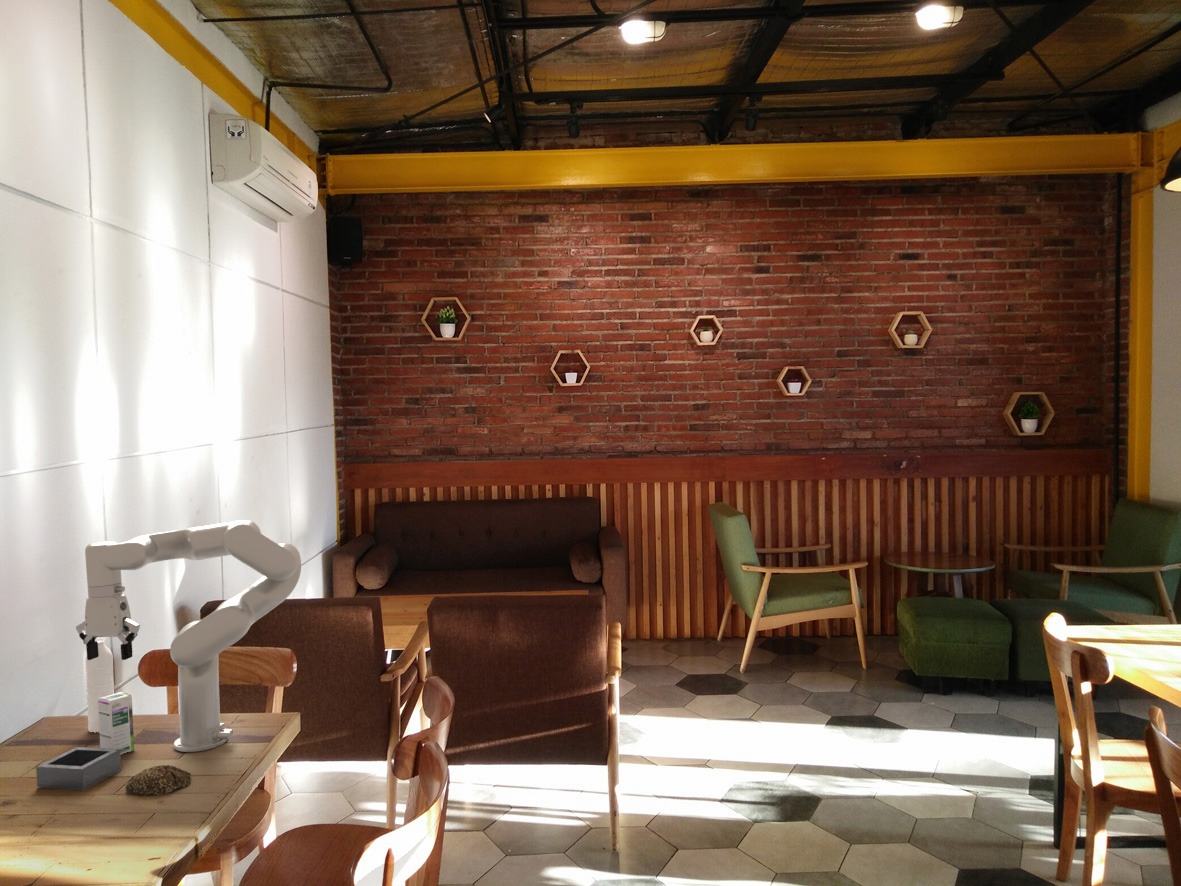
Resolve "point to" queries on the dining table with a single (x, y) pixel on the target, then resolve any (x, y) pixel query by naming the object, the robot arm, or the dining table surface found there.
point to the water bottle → (98, 682)
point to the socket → (78, 768)
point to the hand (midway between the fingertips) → (110, 658)
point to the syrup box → (116, 722)
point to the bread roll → (158, 781)
